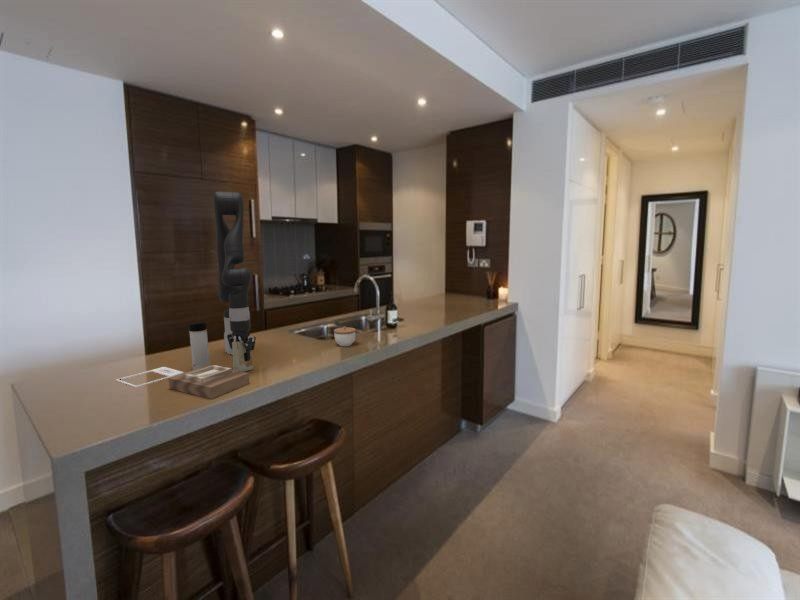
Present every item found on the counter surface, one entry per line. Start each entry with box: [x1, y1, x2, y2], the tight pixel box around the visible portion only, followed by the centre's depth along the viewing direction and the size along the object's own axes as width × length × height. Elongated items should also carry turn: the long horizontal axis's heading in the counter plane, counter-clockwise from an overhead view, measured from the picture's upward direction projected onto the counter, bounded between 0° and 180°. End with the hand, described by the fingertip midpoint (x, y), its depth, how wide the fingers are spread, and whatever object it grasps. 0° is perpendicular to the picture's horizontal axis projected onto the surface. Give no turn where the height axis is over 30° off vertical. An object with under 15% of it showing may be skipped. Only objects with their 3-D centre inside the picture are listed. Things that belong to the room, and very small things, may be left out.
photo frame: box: [115, 366, 185, 389], centre depth 156 cm, size 15×1×18 cm
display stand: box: [167, 364, 250, 400], centre depth 145 cm, size 22×16×6 cm
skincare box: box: [232, 341, 254, 372], centre depth 162 cm, size 6×4×12 cm
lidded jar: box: [333, 325, 357, 347], centre depth 199 cm, size 11×11×9 cm
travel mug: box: [188, 322, 211, 370], centre depth 162 cm, size 6×7×20 cm
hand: (242, 360), depth 162 cm, fingers closed on skincare box, 4 cm apart
